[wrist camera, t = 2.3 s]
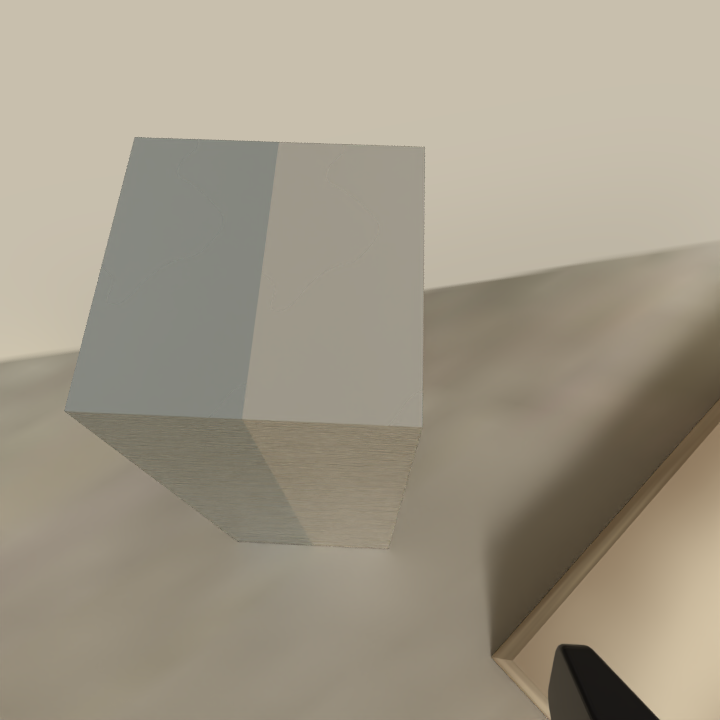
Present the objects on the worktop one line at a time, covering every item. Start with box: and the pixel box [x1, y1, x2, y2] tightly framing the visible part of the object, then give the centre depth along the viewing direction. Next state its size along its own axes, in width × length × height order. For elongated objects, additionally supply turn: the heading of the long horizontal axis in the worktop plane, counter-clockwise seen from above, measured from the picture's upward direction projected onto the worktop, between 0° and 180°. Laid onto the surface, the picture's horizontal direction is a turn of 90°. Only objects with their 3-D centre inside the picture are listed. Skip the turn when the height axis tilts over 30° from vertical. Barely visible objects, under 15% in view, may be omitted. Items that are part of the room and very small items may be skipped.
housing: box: [64, 137, 425, 549], centre depth 16 cm, size 5×5×13 cm
